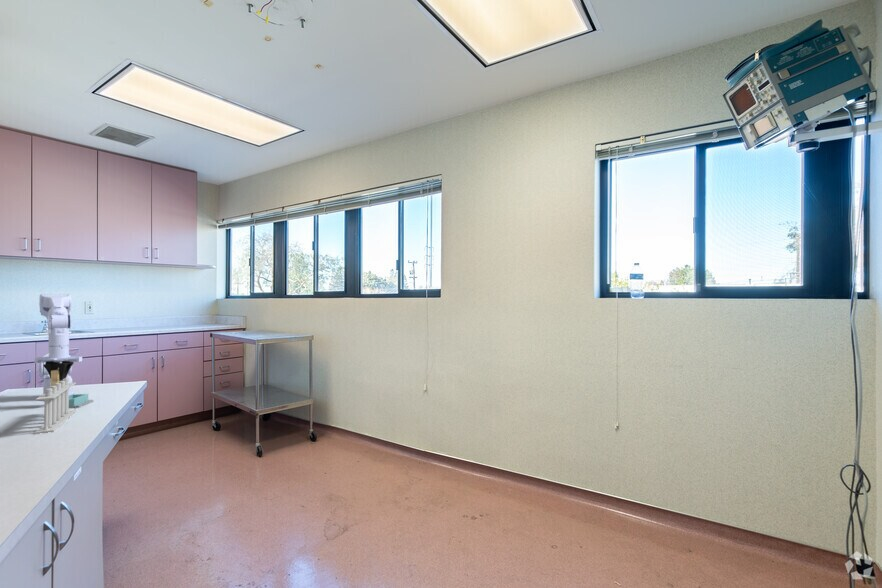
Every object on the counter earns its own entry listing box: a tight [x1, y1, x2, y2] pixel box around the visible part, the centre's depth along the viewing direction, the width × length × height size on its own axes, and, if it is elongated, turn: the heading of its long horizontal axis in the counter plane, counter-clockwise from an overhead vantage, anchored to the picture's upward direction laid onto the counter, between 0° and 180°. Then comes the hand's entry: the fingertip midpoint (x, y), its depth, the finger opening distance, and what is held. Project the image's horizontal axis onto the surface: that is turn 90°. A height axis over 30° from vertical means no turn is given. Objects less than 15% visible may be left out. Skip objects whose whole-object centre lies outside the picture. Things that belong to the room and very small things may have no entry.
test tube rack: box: [34, 378, 77, 435], centre depth 137 cm, size 25×4×13 cm, turn 30°
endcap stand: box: [69, 393, 94, 409], centre depth 158 cm, size 9×9×3 cm
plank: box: [51, 369, 67, 386], centre depth 157 cm, size 5×2×8 cm, turn 12°
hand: (58, 380), depth 157 cm, fingers closed on plank, 2 cm apart
